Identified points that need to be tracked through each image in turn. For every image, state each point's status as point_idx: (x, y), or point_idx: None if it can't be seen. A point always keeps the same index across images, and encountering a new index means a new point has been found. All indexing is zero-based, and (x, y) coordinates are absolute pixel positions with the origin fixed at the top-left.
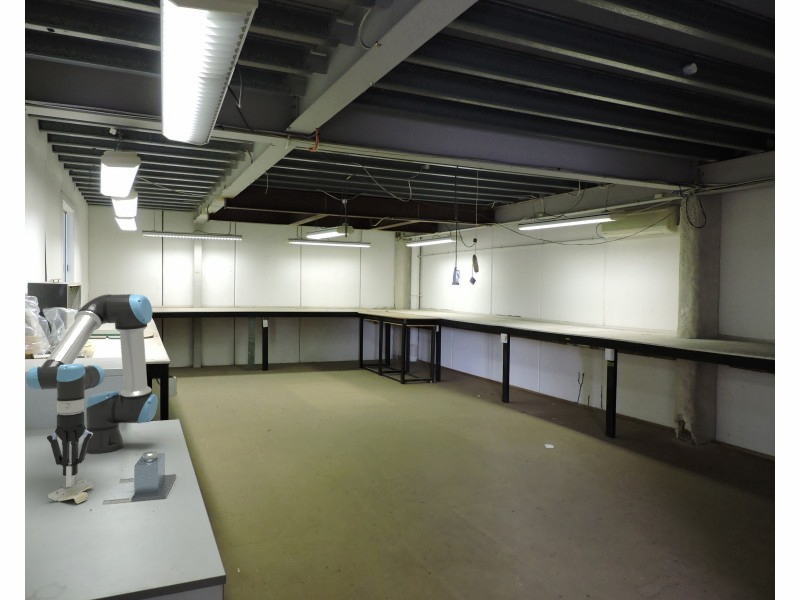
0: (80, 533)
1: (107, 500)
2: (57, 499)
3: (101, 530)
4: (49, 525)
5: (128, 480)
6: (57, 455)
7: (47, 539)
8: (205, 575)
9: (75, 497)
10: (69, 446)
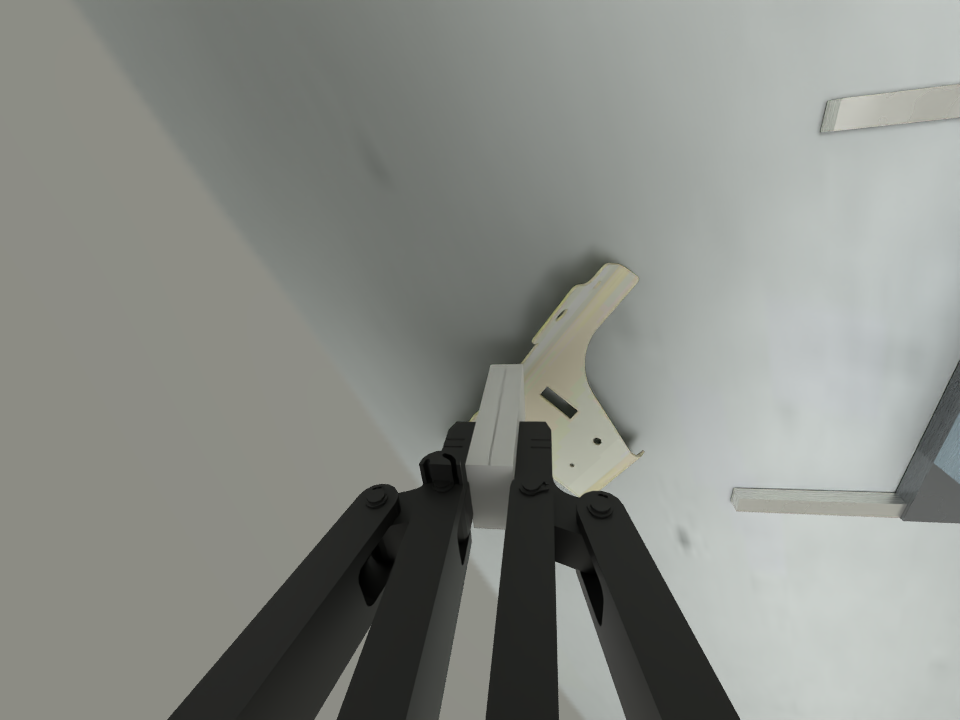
0: None
1: (760, 502)
2: None
3: (756, 683)
4: (559, 611)
5: (916, 121)
6: (354, 636)
7: (594, 679)
8: None
9: None
10: (411, 697)
